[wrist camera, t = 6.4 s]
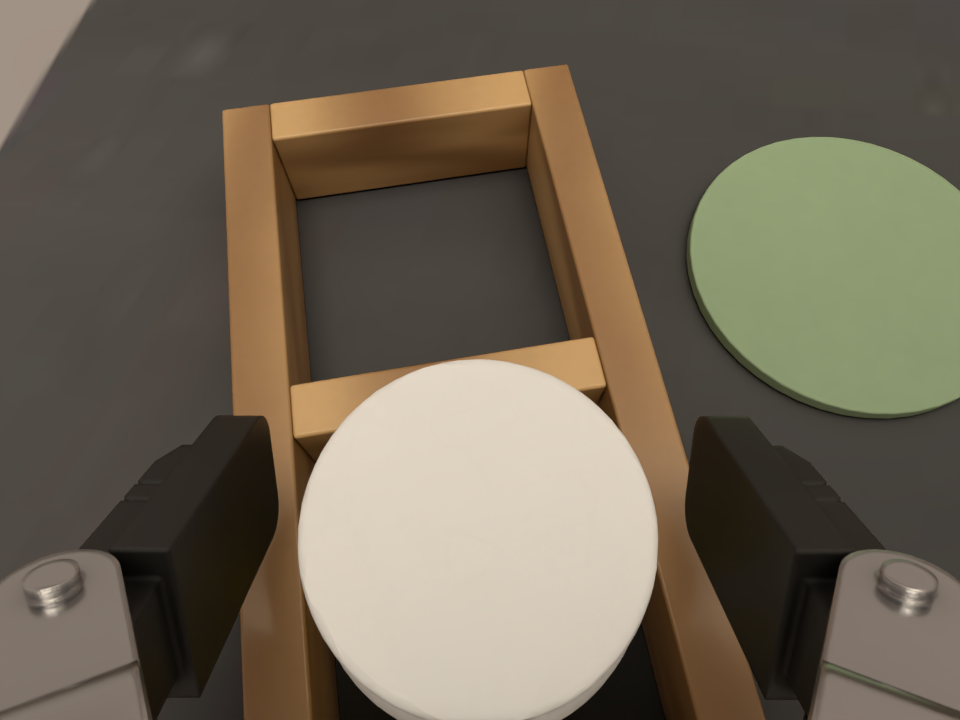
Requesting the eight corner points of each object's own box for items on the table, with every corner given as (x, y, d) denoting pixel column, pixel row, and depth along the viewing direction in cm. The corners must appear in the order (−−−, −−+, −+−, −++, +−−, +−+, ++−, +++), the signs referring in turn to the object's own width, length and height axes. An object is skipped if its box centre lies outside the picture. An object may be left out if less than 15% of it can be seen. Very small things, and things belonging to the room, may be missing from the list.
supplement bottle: (398, 466, 16) (323, 296, 8) (596, 498, 16) (706, 352, 8) (350, 687, 14) (199, 725, 7) (574, 728, 14) (689, 820, 6)
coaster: (924, 127, 20) (932, 118, 20) (1068, 388, 17) (1081, 383, 17) (649, 167, 20) (652, 158, 19) (744, 445, 16) (750, 440, 16)
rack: (558, 129, 20) (568, 63, 18) (740, 778, 14) (792, 804, 11) (251, 172, 20) (221, 109, 17) (290, 873, 13) (249, 920, 11)
